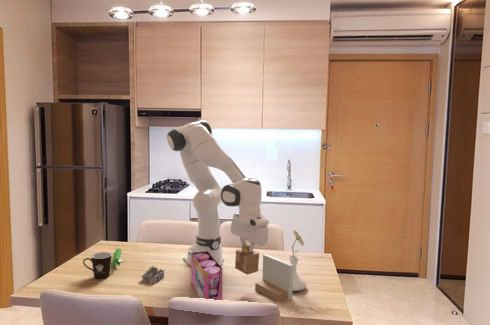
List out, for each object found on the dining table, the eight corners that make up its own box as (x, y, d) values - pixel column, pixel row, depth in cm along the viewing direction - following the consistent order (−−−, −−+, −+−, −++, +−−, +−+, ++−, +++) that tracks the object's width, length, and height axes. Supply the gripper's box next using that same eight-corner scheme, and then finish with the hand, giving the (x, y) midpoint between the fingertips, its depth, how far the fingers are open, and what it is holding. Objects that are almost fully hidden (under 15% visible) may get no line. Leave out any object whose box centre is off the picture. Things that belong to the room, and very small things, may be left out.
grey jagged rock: (153, 273, 175) (153, 265, 174) (166, 276, 172) (167, 267, 172) (139, 281, 165) (139, 272, 164) (153, 284, 162) (153, 275, 162)
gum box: (223, 303, 146) (224, 270, 145) (204, 306, 143) (204, 272, 142) (207, 280, 168) (208, 250, 167) (190, 282, 165) (190, 252, 164)
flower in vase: (305, 295, 155) (308, 236, 153) (278, 292, 157) (280, 234, 155) (306, 282, 168) (308, 228, 166) (281, 280, 170) (283, 226, 168)
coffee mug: (115, 274, 171) (115, 253, 171) (103, 281, 163) (102, 259, 162) (95, 270, 175) (95, 250, 174) (81, 277, 167) (81, 256, 166)
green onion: (114, 254, 201) (109, 272, 172) (114, 248, 201) (109, 265, 172) (124, 253, 203) (120, 271, 174) (124, 247, 203) (120, 264, 174)
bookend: (253, 288, 160) (254, 257, 159) (265, 284, 164) (266, 253, 163) (280, 302, 148) (281, 268, 147) (292, 297, 152) (293, 264, 151)
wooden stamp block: (234, 268, 158) (235, 243, 157) (245, 265, 162) (247, 240, 161) (246, 274, 152) (248, 248, 151) (258, 271, 156) (259, 246, 155)
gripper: (228, 212, 161) (226, 243, 162) (260, 224, 145) (257, 258, 147) (239, 211, 165) (237, 241, 166) (271, 222, 149) (269, 255, 151)
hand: (247, 249), depth 156 cm, fingers closed on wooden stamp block, 2 cm apart
